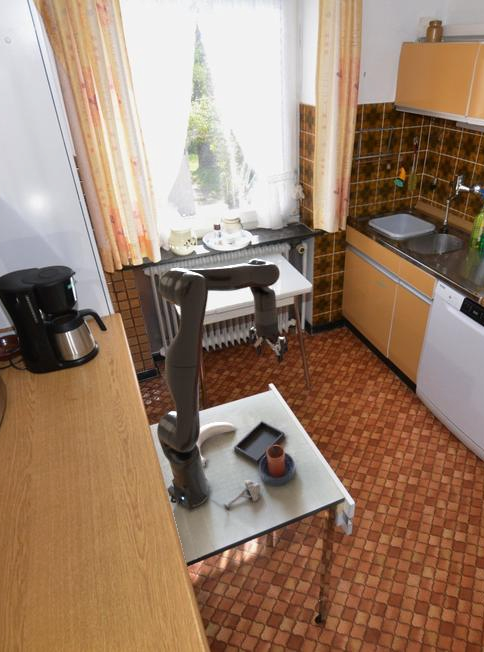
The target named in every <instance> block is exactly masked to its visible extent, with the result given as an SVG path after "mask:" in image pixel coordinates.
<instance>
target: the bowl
mask: <svg viewBox="0 0 484 652" xmlns="http://www.w3.org/2000/svg"><path fill="white" fill-rule="evenodd" d="M285 464H286V474H285V475H284V477H280V478H272V477H271V476H270V475H269V472H268V463H267V455H265V456H264V457H263V458H262V459H261V461H260V463H259V464H258V468H259V475H260V478H261V480H262V481H263V482H264V483H265V484H267V485H269V486H272V487H281V486H286V485H287V484H289V483H290V482H291V481H292V479H293V478H294V476H295V461H294V458H293V457H292V456H291V455H290V454H289V453H287V452H285Z"/></svg>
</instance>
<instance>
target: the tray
mask: <svg viewBox="0 0 484 652" xmlns="http://www.w3.org/2000/svg"><path fill="white" fill-rule="evenodd" d="M285 435H286V434H285V432H284V431H282V430H280V429H278V428H277V427H275V426H273V425H271V424H269V423H267V422H265V421H263V420H261V421H259V422H258V424H256V425H255V426H254V427H253V428H252V429H250V431H249V432H248V433H247V434H246V435H244V437H242V439H240V440H239V441H238V442H236V444H235V445H234V446H233V450H234V452H235V453H237V454H239V455H240V456H242V457H243V458H246V459H247V460H249V461H250V462H252V463H254V464H255V465H258V466H259V463H260V461H261V459H262V458H263V457H264V456H265V455H266V451H267V449H268V448H269V447H270V446H273V445H279V443H280V442H282V440H283V439H285V437H286V436H285Z"/></svg>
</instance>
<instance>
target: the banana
mask: <svg viewBox="0 0 484 652" xmlns="http://www.w3.org/2000/svg"><path fill="white" fill-rule="evenodd" d="M235 430H236V428H235V425H233V424H232V423H231V422H223V421H221V422H219V421H218V422H217V421H216V422H211V423H207V424H205V425H203V426H200V434H199V438H198V441H197V443H196V444H197V446H198V448H199V451H200V456H201V460H202V464H203V467H206V462H207V459H206V458H205V457H204V456H203V455H202V453H201V446H202V444H203V443H204V442H205V441H206V440H207V439H208V438H210V437H212V436H214V435H218V434H224V433H225V434H226V433H230V432H234V431H235Z"/></svg>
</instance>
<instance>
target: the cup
mask: <svg viewBox="0 0 484 652" xmlns="http://www.w3.org/2000/svg"><path fill="white" fill-rule="evenodd" d="M285 453H286V451H285V449H284V447H283V446H281V445H279V444H277V445H273V446H270V447H269V448H268V449H267V451H266V455H267V463H268V472H269V475H270V476H271V477H272V478H280V477H284V475H285V474H286V464H285Z"/></svg>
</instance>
